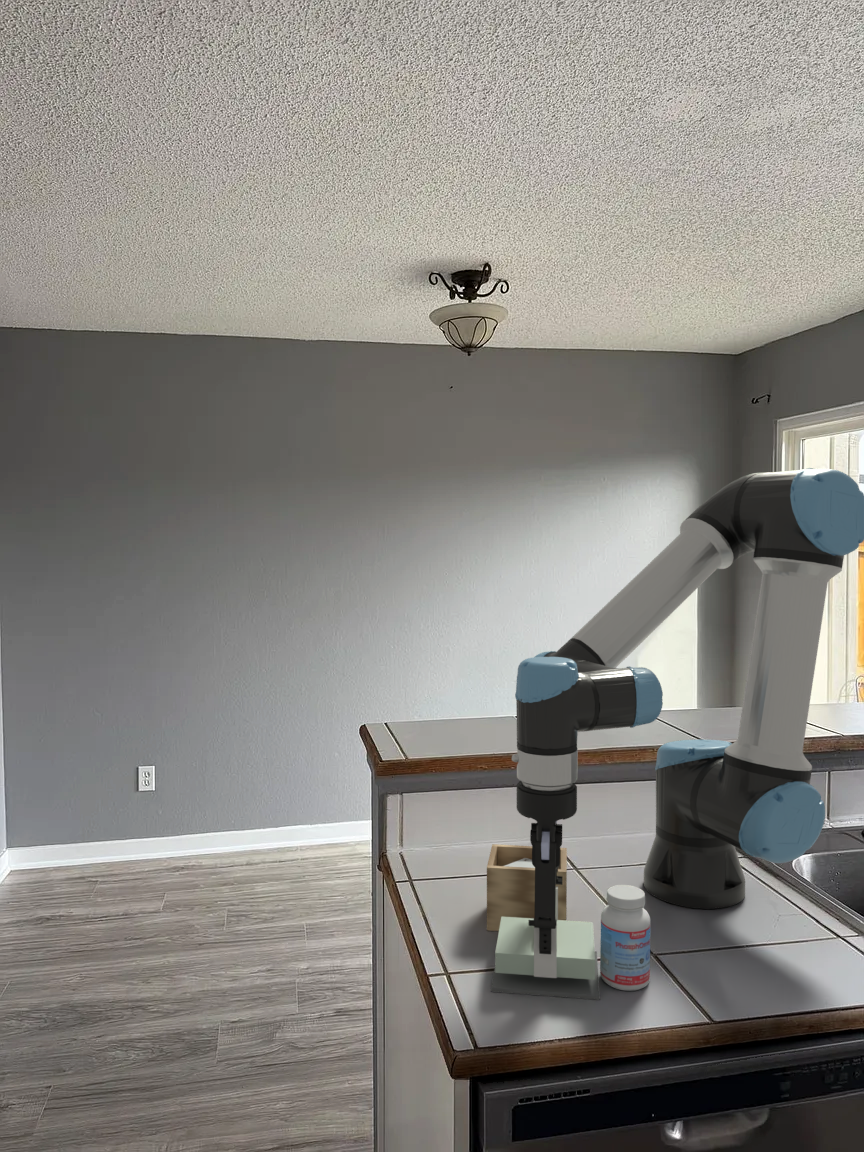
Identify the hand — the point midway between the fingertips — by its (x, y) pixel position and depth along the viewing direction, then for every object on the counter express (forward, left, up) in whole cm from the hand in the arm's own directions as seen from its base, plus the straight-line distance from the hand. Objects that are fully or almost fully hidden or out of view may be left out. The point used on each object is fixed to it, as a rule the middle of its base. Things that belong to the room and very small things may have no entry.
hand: (546, 954), depth 112 cm
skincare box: (+3, -15, -2) cm, 16 cm away
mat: (0, 0, -2) cm, 2 cm away
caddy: (+3, -15, -2) cm, 15 cm away
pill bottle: (-10, 0, -3) cm, 10 cm away
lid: (0, 0, 0) cm, 0 cm away
